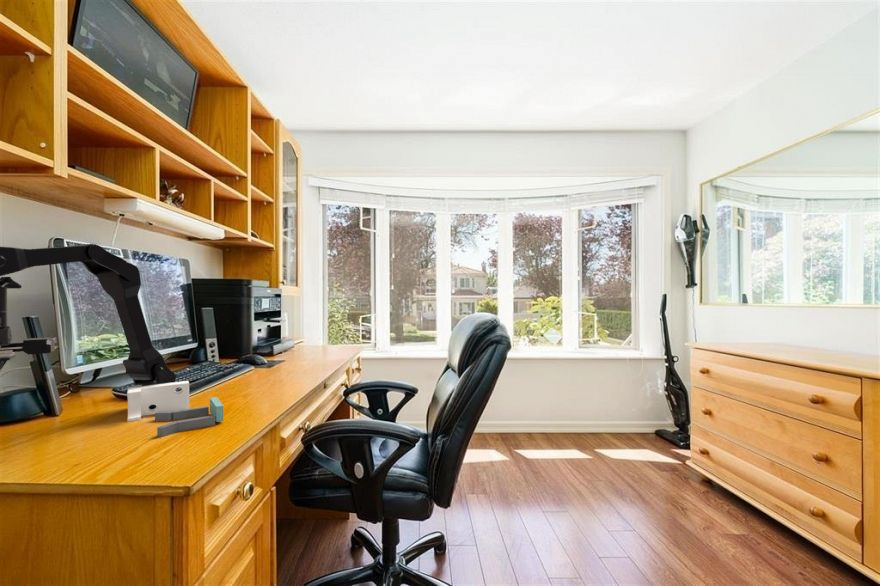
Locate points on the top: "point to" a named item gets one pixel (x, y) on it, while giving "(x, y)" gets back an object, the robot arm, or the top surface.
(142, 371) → the robot arm
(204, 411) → the guide dock
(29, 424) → the top surface
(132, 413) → the bracket
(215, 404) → the end stop
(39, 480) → the top surface
